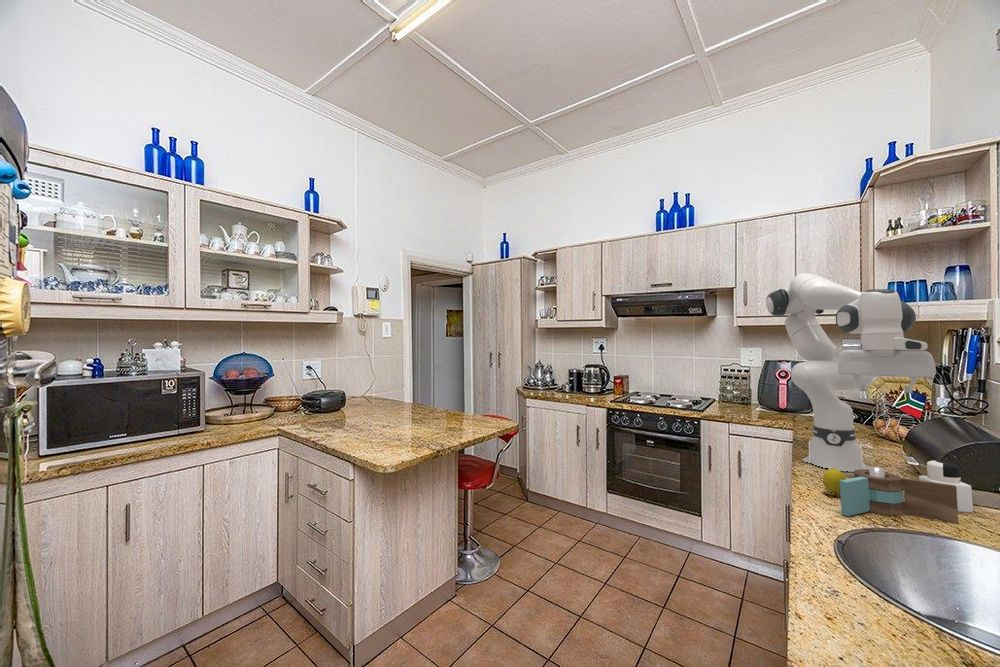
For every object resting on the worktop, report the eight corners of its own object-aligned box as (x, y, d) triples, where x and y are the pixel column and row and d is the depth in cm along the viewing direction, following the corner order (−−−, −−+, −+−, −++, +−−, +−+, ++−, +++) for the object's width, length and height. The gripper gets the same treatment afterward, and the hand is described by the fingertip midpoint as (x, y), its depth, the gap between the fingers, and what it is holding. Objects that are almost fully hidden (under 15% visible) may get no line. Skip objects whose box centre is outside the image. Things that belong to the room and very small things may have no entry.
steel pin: (870, 505, 108) (868, 465, 109) (885, 507, 106) (883, 467, 107) (871, 508, 106) (869, 468, 106) (886, 511, 104) (884, 470, 104)
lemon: (838, 492, 118) (836, 465, 119) (852, 499, 113) (851, 471, 113) (818, 491, 119) (817, 465, 119) (832, 498, 113) (831, 470, 114)
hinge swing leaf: (868, 498, 112) (867, 468, 112) (910, 511, 103) (908, 478, 104) (825, 508, 106) (823, 476, 106) (865, 522, 97) (863, 487, 98)
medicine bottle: (952, 502, 109) (949, 459, 110) (973, 513, 102) (970, 467, 103) (919, 500, 111) (917, 457, 112) (938, 510, 105) (936, 465, 105)
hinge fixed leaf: (855, 499, 113) (854, 467, 113) (953, 516, 100) (951, 481, 101) (857, 509, 106) (855, 475, 106) (962, 529, 94) (959, 491, 94)
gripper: (834, 344, 117) (837, 390, 117) (935, 343, 104) (938, 395, 103) (834, 344, 122) (837, 388, 121) (931, 343, 109) (934, 393, 108)
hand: (884, 391), depth 112 cm, fingers open, 8 cm apart
